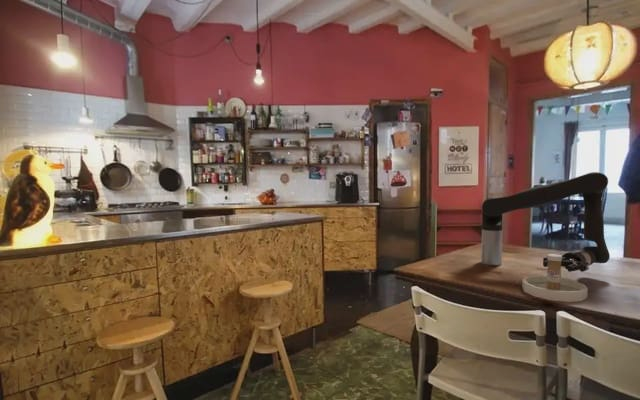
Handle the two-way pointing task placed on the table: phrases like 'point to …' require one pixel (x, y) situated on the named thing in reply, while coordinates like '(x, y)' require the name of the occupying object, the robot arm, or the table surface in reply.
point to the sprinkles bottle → (554, 272)
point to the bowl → (568, 292)
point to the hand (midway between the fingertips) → (556, 266)
